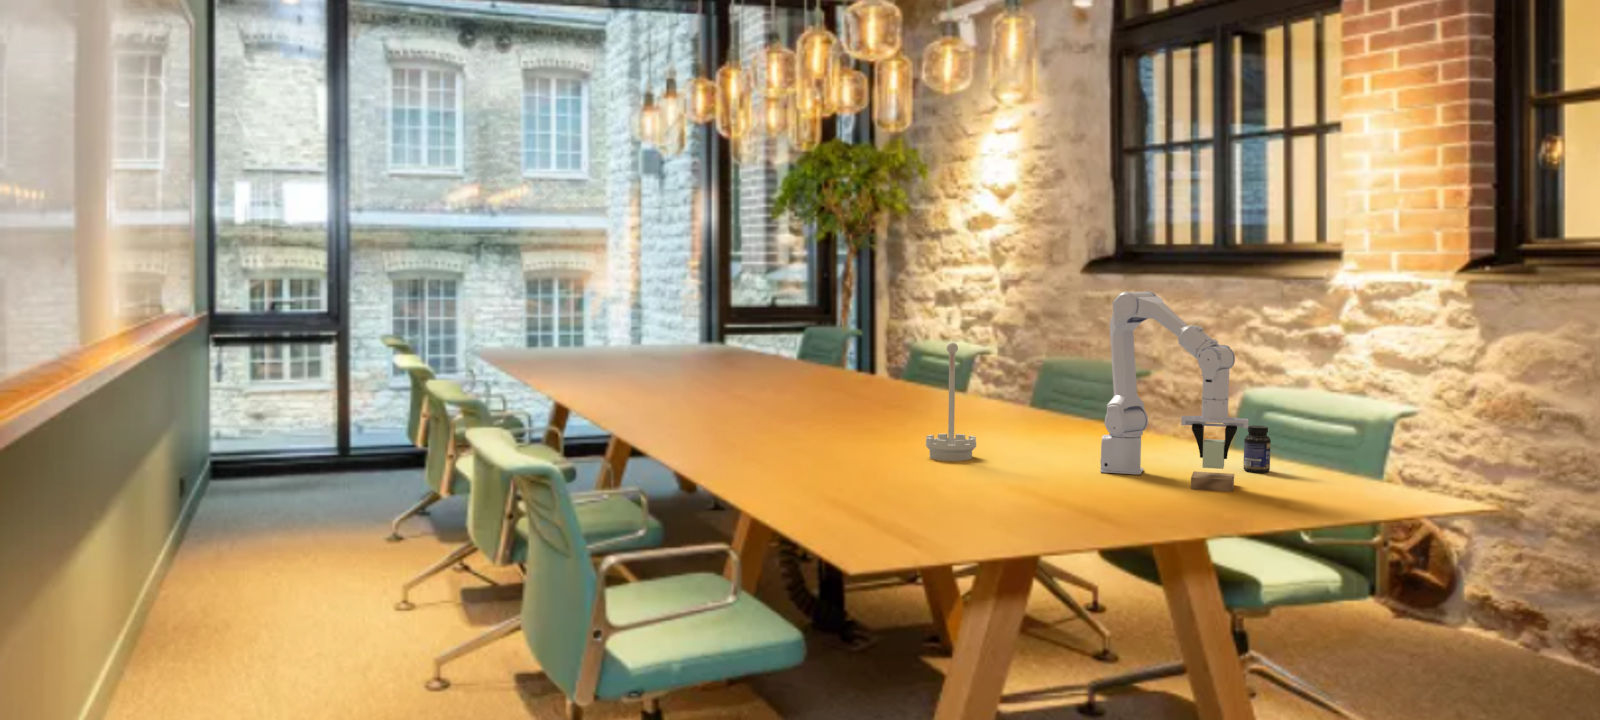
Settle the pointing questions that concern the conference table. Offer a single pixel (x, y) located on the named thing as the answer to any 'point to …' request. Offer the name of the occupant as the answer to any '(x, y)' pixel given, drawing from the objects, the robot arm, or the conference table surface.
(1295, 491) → the conference table surface
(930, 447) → the flag stand
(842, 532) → the conference table surface
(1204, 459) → the sage block
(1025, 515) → the conference table surface
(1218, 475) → the walnut box
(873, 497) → the conference table surface
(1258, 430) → the pill bottle
